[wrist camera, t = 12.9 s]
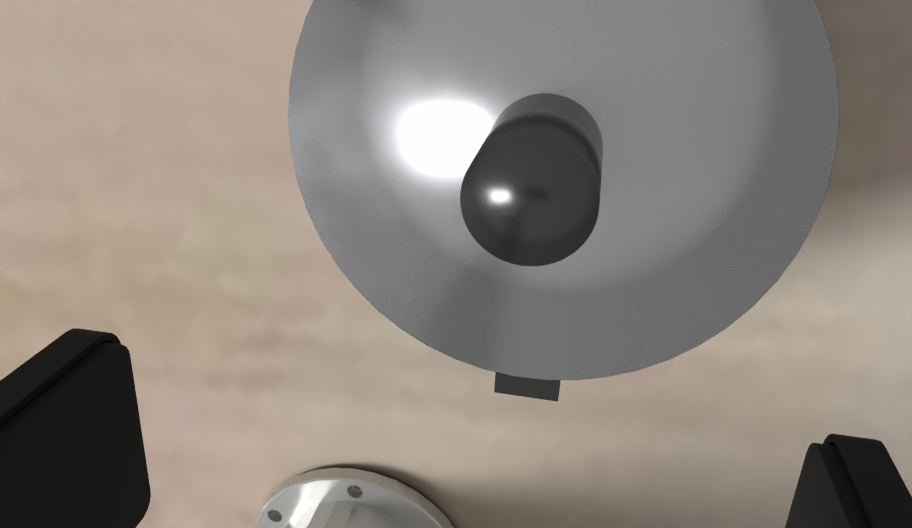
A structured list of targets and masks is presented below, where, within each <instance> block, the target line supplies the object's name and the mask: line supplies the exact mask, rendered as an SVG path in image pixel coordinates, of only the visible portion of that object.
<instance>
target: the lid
mask: <svg viewBox="0 0 912 528" xmlns="http://www.w3.org/2000/svg"><path fill="white" fill-rule="evenodd" d="M288 120H289V133H290V146H291V153H292V158H293V162H294V167H295V172H296V177H297V181H298V184H299V187H300V190H301V193H302V196H303V199H304V202H305V205H306V208H307V211H308V213H309V215H310V217H311V219H312V222H313V224H314V226H315V228H316V230H317V232H318V234H319V236H320V239H321V240H322V242H323V243H324V245H325V247H326V248H327V250H328V251H329V253H330V255H331V256H332V258H333V259H334V261H335V263H336V264H337V266H338V267H339V268H340V269H341V271H342V272H343V273H344V274H345V276H346V277H347V278H348V279H349V281H350V282H351V283H352V284H353V286H354V287H355V288H356V289H357V290H358V291H359V292H360V293H361V294H362V295H363V296H364V297H365V298H366V299H367V300H368V301H369V302H370V303H371V304H372V305H373V306H374V307H375V308H376V309H377V310H378V311H379V312H380V313H382V314H383V315H384V316H385V317H387V318H388V319H389V320H390V321H392V322H393V323H394V324H395V325H397V326H398V327H399V328H401V329H402V330H403V331H405V332H407V333H408V334H410V335H411V336H413V337H415V338H416V339H418V340H419V341H421V342H423V343H424V344H426V345H427V346H429V347H431V348H434V349H436V350H438V351H440V352H442V353H444V354H446V355H448V356H450V357H452V358H454V359H457V360H460V361H462V362H465V363H468V364H471V365H474V366H477V367H479V368H482V369H486V370H490V371H494V372H499V373H503V374H507V375H511V376H517V377H526V378H534V379H542V380H582V379H592V378H602V377H609V376H614V375H618V374H623V373H628V372H632V371H637V370H640V369H643V368H646V367H649V366H652V365H655V364H658V363H661V362H664V361H667V360H669V359H672V358H674V357H676V356H678V355H680V354H682V353H684V352H686V351H688V350H691V349H693V348H695V347H697V346H699V345H700V344H702V343H704V342H705V341H707V340H708V339H710V338H711V337H713V336H715V335H716V334H718V333H719V332H721V331H723V330H724V329H726V328H727V327H728V326H730V325H731V324H732V323H733V322H735V321H736V320H737V319H738V318H739V317H741V316H742V315H743V314H744V313H746V312H747V311H748V310H749V309H751V308H752V307H753V306H754V305H755V304H756V303H757V302H758V301H759V300H760V299H761V297H762V296H763V295H764V294H765V293H766V292H767V291H768V290H769V289H770V288H771V287H772V286H773V285H774V284H775V283H776V282H777V280H778V279H779V278H780V276H781V275H782V274H783V272H784V271H785V270H786V268H787V267H788V265H789V264H790V263H791V261H792V260H793V259H794V257H795V256H796V255H797V253H798V251H799V249H800V248H801V246H802V244H803V242H804V240H805V239H806V237H807V235H808V233H809V231H810V230H811V228H812V226H813V224H814V222H815V219H816V217H817V214H818V212H819V209H820V206H821V204H822V201H823V199H824V196H825V194H826V191H827V188H828V184H829V179H830V175H831V171H832V167H833V163H834V158H835V154H836V144H837V133H838V122H839V106H838V87H837V75H836V70H835V66H834V61H833V56H832V51H831V46H830V41H829V38H828V35H827V32H826V29H825V27H824V24H823V21H822V19H821V16H820V13H819V10H818V8H817V5H816V2H815V0H314V1H313V3H312V5H311V7H310V9H309V11H308V14H307V16H306V19H305V22H304V25H303V28H302V31H301V35H300V38H299V41H298V44H297V47H296V51H295V57H294V62H293V68H292V73H291V79H290V89H289V109H288Z"/></svg>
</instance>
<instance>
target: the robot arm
mask: <svg viewBox="0 0 912 528" xmlns="http://www.w3.org/2000/svg"><path fill="white" fill-rule="evenodd" d="M149 503H150V485H149V478H148V472H147V465H146V458H145V452H144V445H143V438H142V432H141V425H140V418H139V412H138V405H137V398H136V392H135V385H134V378H133V372H132V365H131V358H130V353H129V350H128V349H127V347H126V346H124V345H121V343H120V340H119V339H118V337H117V336H116V335H114V334H112V333H107V332H100V331H92V330H85V329H71V330H69V331H67V332H65V333H64V334H63V335H61V336H60V337H59V338H57V339H56V340H55V341H53V342H52V343H51V344H49V345H48V346H47V347H45V348H44V349H43V350H41V351H40V352H38V353H37V354H36V355H34V356H33V357H32V358H30V359H29V360H28V361H26V362H25V363H24V364H22V365H21V366H20V367H18V368H17V369H16V370H14V371H13V372H12V373H10V374H9V375H8V376H6V377H5V378H3V379H2V380H1V381H0V528H136V526H137V525H138V524H139V523H140V521H141V520H142V519H143V517H144V515H145V514H146V511H147V509H148V506H149ZM255 528H454V527H453V526H452V524H451V523H450V522H449V520H448V519H447V517H446V516H445V515H444V514H443V513H442V512H441V511H440V510H439V509H438V508H437V507H436V506H435V505H434V504H433V503H431V502H430V501H429V500H427V499H426V498H425V497H423V496H422V495H421V494H419V493H418V492H417V491H415V490H413V489H411V488H410V487H408V486H406V485H404V484H402V483H400V482H398V481H397V480H394V479H391V478H388V477H386V476H383V475H380V474H377V473H374V472H369V471H364V470H359V469H352V468H327V469H319V470H313V471H310V472H307V473H304V474H300V475H297V476H296V477H294V478H292V479H290V480H289V481H287V482H285V483H283V484H282V485H281V486H280V487H279V488H278V489H277V490H276V491H275V492H274V493H273V494H272V495H271V496H270V498H269V499H268V501H267V502H266V504H265V506H264V507H263V509H262V510H261V512H260V515H259V517H258V519H257V521H256V524H255ZM785 528H912V497H911V495H910V493H909V491H908V489H907V488H906V486H905V484H904V482H903V480H902V478H901V476H900V474H899V472H898V470H897V469H896V467H895V465H894V463H893V461H892V459H891V457H890V455H889V453H888V452H887V450H886V448H885V446H884V445H883V444H882V442H881V441H878V440H873V439H866V438H859V437H852V436H845V435H838V434H830V435H828V436H827V438H826V439H825V441H824V443H823V444H819V443H812V444H811V445H810V446H809V448H808V450H807V453H806V456H805V460H804V463H803V467H802V470H801V474H800V477H799V481H798V484H797V488H796V491H795V495H794V498H793V502H792V505H791V509H790V512H789V516H788V520H787V523H786V527H785Z"/></svg>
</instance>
